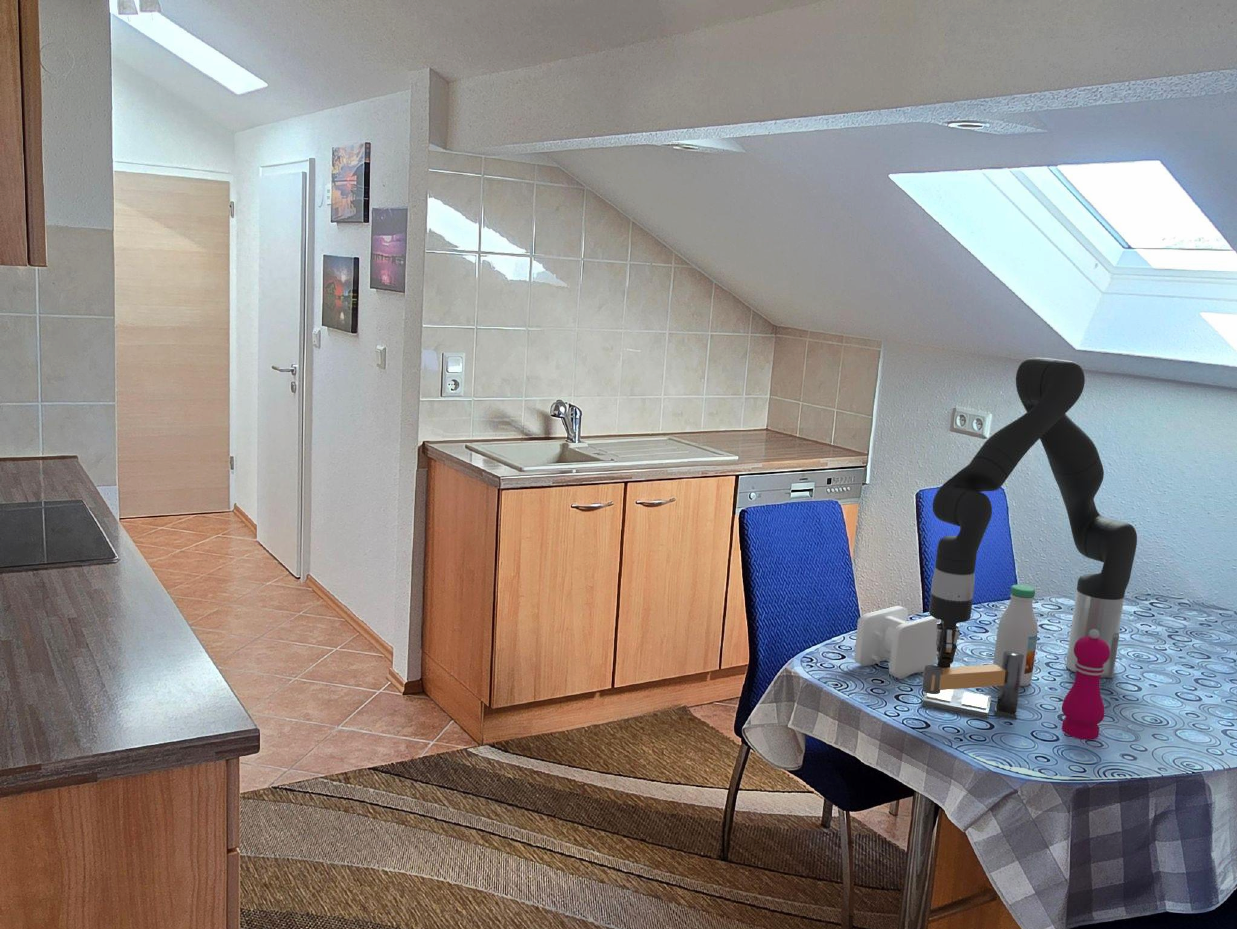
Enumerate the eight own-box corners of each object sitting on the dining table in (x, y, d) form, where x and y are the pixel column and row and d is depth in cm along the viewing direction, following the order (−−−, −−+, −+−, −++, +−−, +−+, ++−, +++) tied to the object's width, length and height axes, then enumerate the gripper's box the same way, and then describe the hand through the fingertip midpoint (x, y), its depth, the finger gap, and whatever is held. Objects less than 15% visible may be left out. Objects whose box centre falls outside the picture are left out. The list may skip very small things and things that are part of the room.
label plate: (990, 701, 205) (991, 694, 205) (987, 719, 197) (988, 711, 196) (927, 689, 209) (928, 682, 209) (921, 705, 201) (922, 698, 201)
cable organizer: (891, 683, 212) (897, 629, 209) (850, 666, 220) (856, 613, 217) (936, 669, 221) (942, 616, 219) (895, 653, 229) (900, 602, 227)
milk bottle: (1012, 689, 212) (1025, 594, 208) (983, 675, 218) (995, 583, 215) (1039, 684, 215) (1052, 591, 212) (1009, 670, 222) (1021, 580, 218)
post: (1017, 711, 201) (1025, 652, 198) (1016, 719, 197) (1024, 659, 195) (995, 707, 202) (1003, 648, 200) (994, 715, 199) (1001, 655, 196)
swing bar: (993, 682, 199) (995, 660, 199) (1003, 689, 196) (1006, 667, 196) (918, 687, 195) (921, 665, 194) (928, 694, 192) (931, 672, 191)
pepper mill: (1051, 723, 196) (1065, 622, 192) (1088, 724, 197) (1103, 623, 193) (1070, 741, 189) (1086, 636, 185) (1109, 741, 190) (1125, 637, 186)
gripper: (976, 606, 188) (965, 696, 192) (970, 584, 201) (960, 669, 204) (932, 601, 190) (922, 690, 194) (929, 579, 203) (920, 664, 206)
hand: (942, 679), depth 199 cm, fingers closed
